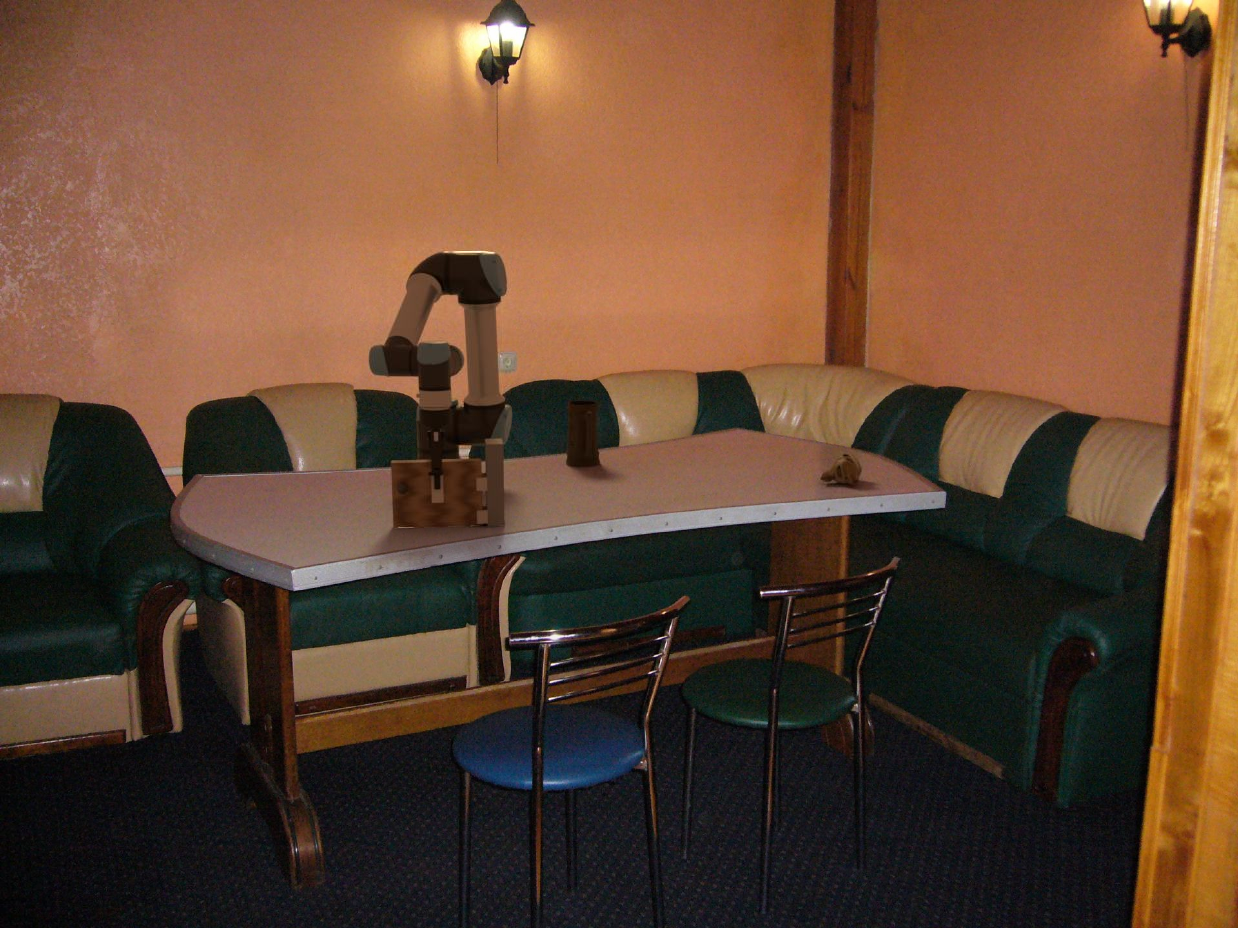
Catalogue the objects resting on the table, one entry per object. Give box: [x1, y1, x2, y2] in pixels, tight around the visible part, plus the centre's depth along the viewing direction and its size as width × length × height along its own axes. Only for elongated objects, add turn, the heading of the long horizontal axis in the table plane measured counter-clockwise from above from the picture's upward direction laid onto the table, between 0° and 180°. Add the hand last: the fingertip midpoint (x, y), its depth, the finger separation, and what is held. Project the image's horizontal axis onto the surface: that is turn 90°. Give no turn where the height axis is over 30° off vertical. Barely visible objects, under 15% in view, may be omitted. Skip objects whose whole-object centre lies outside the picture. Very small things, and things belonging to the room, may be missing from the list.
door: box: [390, 457, 484, 529], centre depth 254 cm, size 21×4×16 cm, turn 99°
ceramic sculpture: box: [819, 453, 863, 485], centre depth 307 cm, size 11×9×15 cm
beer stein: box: [565, 399, 601, 468], centre depth 328 cm, size 15×10×20 cm
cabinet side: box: [476, 439, 506, 527], centre depth 257 cm, size 6×8×20 cm
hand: (437, 495), depth 255 cm, fingers open, 13 cm apart
